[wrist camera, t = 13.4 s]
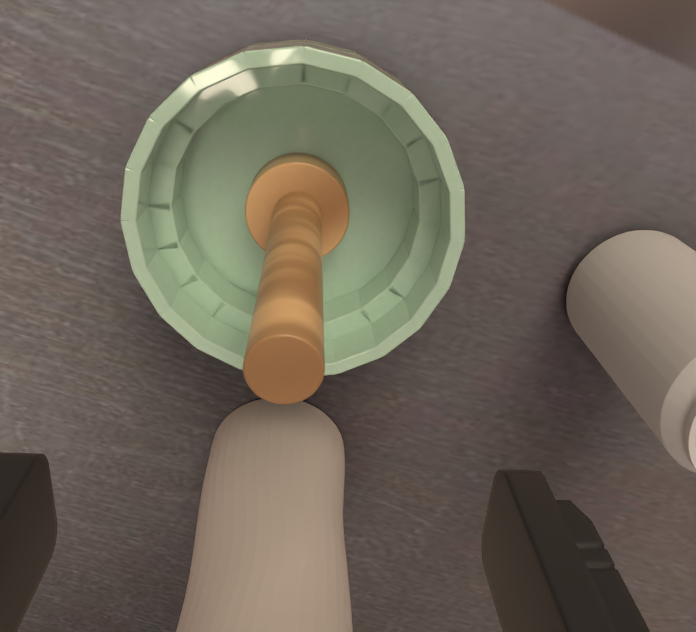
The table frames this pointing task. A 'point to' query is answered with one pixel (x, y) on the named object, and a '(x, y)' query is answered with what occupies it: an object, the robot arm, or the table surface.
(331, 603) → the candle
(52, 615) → the table surface
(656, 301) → the beverage can
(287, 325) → the pestle
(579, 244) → the table surface
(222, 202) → the bowl
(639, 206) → the table surface
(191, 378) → the table surface
